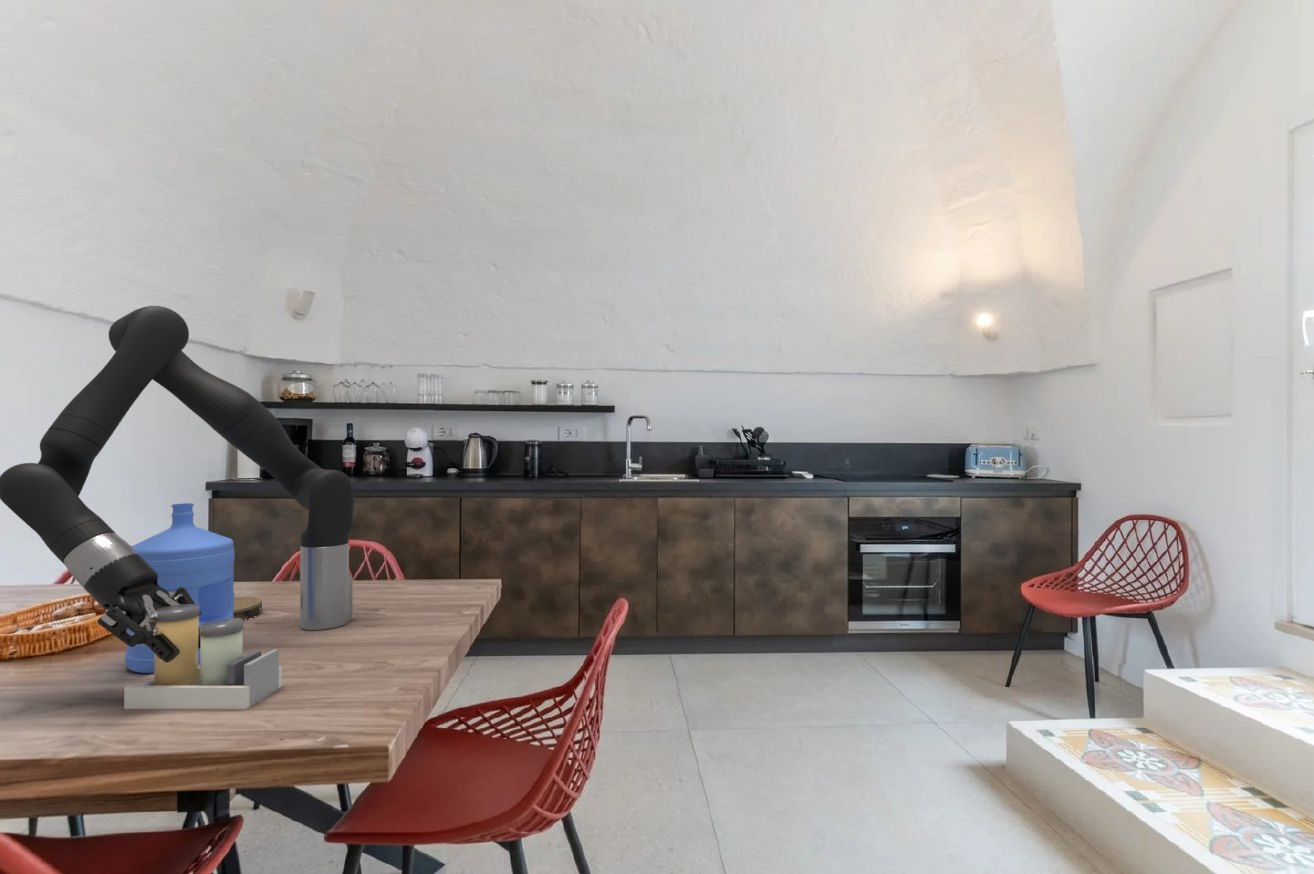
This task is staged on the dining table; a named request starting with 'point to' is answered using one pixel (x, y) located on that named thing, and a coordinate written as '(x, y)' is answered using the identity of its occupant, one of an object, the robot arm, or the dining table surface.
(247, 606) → the brown round flat disc
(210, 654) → the sage jar
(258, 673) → the jar lane
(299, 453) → the robot arm
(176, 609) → the honey jar
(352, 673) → the dining table surface
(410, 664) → the dining table surface
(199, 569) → the water jug
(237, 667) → the block
